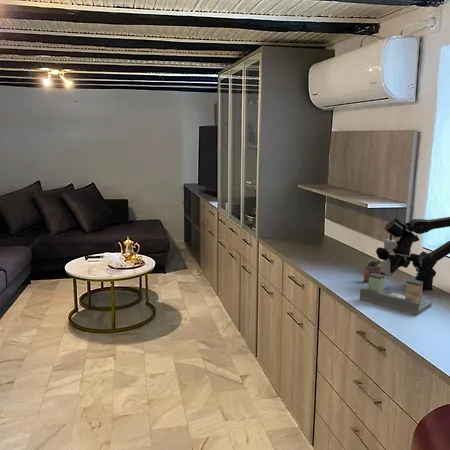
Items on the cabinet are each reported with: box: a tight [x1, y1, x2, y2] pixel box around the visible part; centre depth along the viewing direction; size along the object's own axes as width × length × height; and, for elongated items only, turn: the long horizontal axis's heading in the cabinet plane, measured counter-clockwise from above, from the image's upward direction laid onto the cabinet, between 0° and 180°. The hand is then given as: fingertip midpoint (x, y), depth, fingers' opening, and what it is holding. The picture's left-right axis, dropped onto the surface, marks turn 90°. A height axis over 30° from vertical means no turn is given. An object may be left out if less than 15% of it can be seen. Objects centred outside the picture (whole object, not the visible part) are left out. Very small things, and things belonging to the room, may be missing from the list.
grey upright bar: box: [380, 234, 397, 276], centre depth 226 cm, size 4×5×25 cm
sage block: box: [367, 273, 385, 293], centre depth 186 cm, size 4×5×9 cm
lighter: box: [362, 259, 382, 284], centre depth 212 cm, size 8×3×10 cm, turn 105°
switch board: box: [358, 288, 433, 316], centre depth 185 cm, size 15×23×4 cm, turn 47°
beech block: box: [404, 278, 423, 303], centre depth 179 cm, size 4×5×9 cm
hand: (391, 272), depth 196 cm, fingers closed
